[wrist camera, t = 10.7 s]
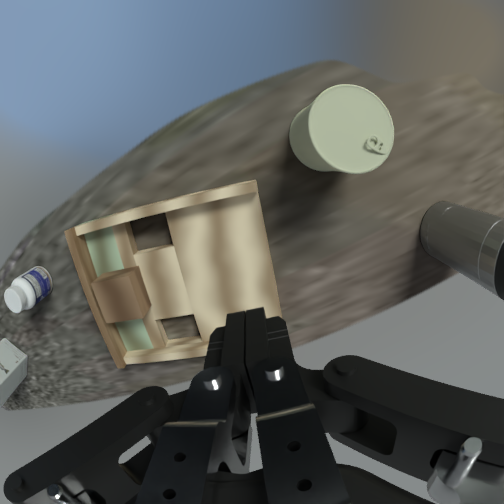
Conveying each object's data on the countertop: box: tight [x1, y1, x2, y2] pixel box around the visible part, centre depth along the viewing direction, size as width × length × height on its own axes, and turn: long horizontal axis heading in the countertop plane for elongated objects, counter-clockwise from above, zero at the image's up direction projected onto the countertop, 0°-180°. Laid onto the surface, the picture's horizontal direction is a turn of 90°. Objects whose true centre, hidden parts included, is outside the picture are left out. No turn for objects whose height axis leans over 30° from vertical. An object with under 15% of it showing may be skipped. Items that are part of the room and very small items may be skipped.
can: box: [289, 84, 394, 174], centre depth 31 cm, size 9×9×12 cm
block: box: [91, 266, 152, 323], centre depth 38 cm, size 6×6×4 cm
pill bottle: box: [4, 266, 53, 313], centre depth 37 cm, size 5×5×9 cm
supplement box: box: [0, 338, 28, 408], centre depth 40 cm, size 7×7×13 cm
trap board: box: [64, 180, 282, 368], centre depth 39 cm, size 26×22×5 cm
